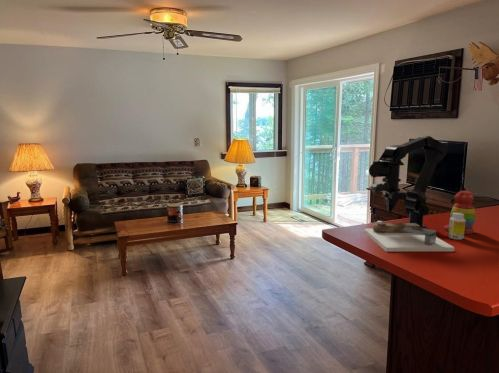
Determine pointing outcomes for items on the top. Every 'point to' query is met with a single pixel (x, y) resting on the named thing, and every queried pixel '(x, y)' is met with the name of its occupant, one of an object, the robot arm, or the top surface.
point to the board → (405, 241)
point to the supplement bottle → (456, 226)
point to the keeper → (423, 233)
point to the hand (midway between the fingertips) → (389, 211)
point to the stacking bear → (464, 210)
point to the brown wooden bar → (392, 227)
